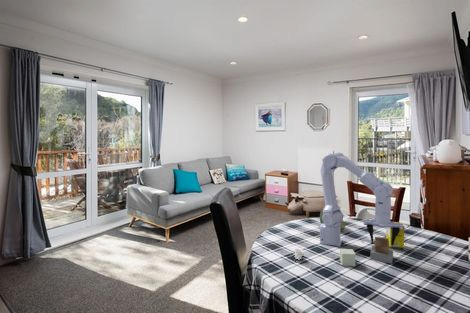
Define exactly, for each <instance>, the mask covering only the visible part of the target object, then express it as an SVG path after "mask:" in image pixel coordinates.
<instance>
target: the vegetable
mask: <svg viewBox="0 0 470 313" xmlns="http://www.w3.org/2000/svg"><path fill="white" fill-rule="evenodd" d="M322 216H323V209H322V210H320V214H319V222H320V225H321V224H324V223H323V220H322ZM346 225H347V223H346V222H345V221H343V220H342V221H341V229H340V230H344V229H345V228H346Z"/></svg>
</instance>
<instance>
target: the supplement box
mask: <svg viewBox="0 0 470 313" xmlns="http://www.w3.org/2000/svg"><path fill="white" fill-rule="evenodd" d="M394 222H395V223H401V222H399V221H397V222H396V221H394ZM385 229H386V230H385V238H388V240H389V249H393V250H394V249H395V250H397V249H398V250H404V249H405V225H403V229H399V230H400V231H399V233H398V235H397V236H396V238H395V241H394V245H391V238H392V228H390V227H385Z"/></svg>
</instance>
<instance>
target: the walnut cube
mask: <svg viewBox="0 0 470 313" xmlns="http://www.w3.org/2000/svg"><path fill="white" fill-rule="evenodd" d="M374 246H375V252H377V253H384V254H389V249H390V247H389V240H388V238H386V237H381V236H374Z"/></svg>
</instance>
